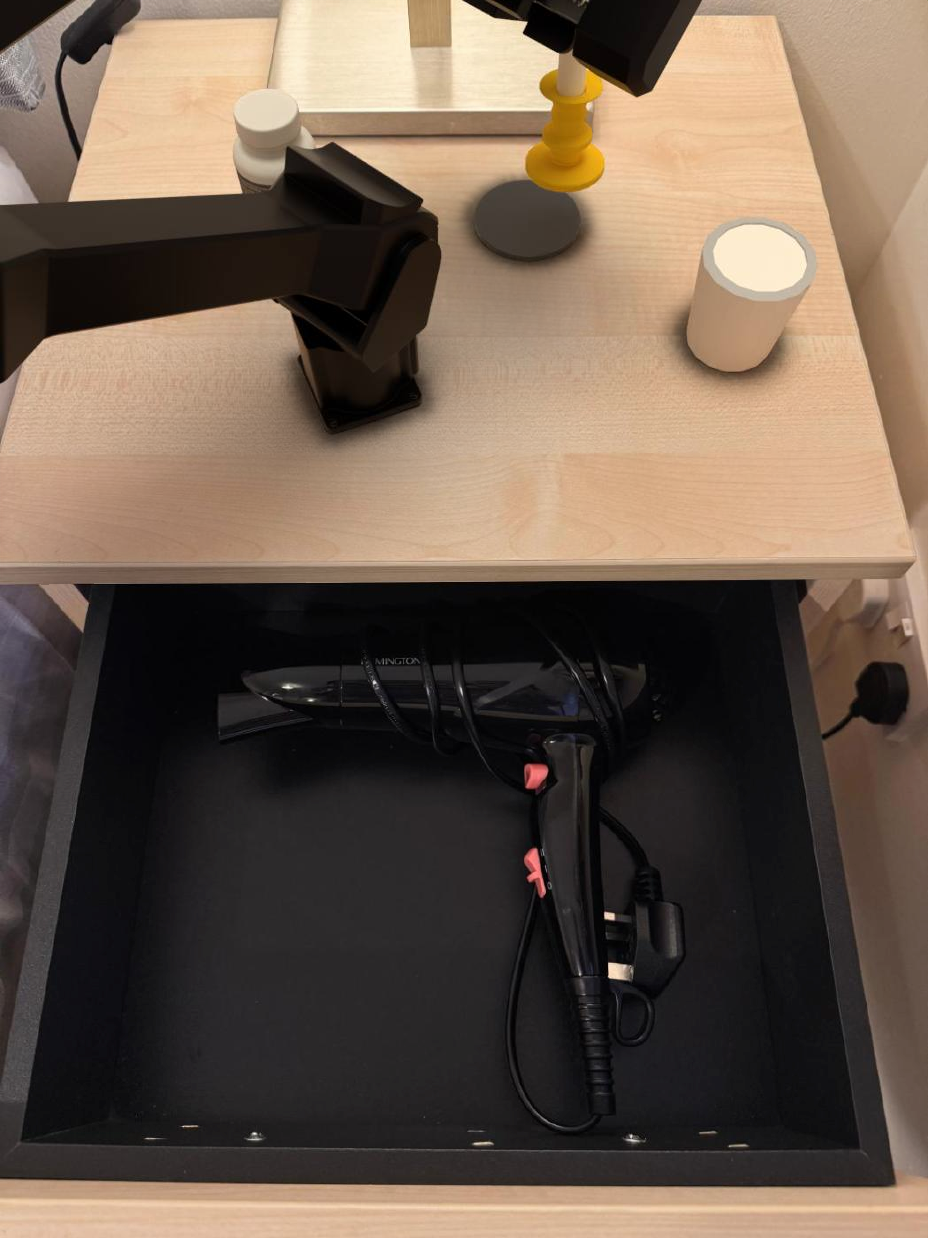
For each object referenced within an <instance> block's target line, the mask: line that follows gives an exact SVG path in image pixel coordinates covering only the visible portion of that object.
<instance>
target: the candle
mask: <svg viewBox="0 0 928 1238" xmlns="http://www.w3.org/2000/svg"><path fill="white" fill-rule="evenodd" d="M572 51H573V49H572V50H571V51H570V52H569V53H567V54H559V53H558V61H557V68H556V69H553V70H551V71H549V72H547V73H545V75H543V76H542V77H541V79H540V81H539V86H538V88H539V91H540V94H541V95H542V96H543V97H544V98H545V99H547V100H549V101H550V102H552V107H551V109H550V117H551V120H550V121H548V122H547V123H546V124H545V125H544V126H543V129H542V132H541V135H542V136H541V140H542V141H540V142H539V143H536V144H535V145H533V146H532V147H531V148H530V149H529V150H528V152H527V154H526V155H525V159H524V160H525V163H524V170H525V173H526V176H527V177H528V178H529V180H532V181H533V182H534V183H535V184H537V185H538V186H540V187H542V188H544V189H547V190H550V191H555V192H566V193H575V192H581V191H583V190H586V189H588V188H590V187H592V186H593V185H595V184H597V183H598V182H599V180H600V179H601V178H602V176H603V174H604V171H605V167H606V162H605V157H604V155H603V152H602V151H601V150H600V149H599V148H598V147H597V146H596V145H594V144H593V143H591V142H593V141H592V140H593V129H592V127H591V126H590V125H589V123H587V122H586V121H587V120H586V119H587V116H588V108H587V105H588V103H591V102H593V101H595V100H597V99H598V98H599V97H600V96H601V95H602V93H603V91H604V82H603V81H602V80H603V79H602V78H600V77H599V76H597V75H595V74H594V73H592V72H591V71H590V70H588V69H587V68H585V67H584V66H583V65H581V64H580V63H579V62H578V61H577V60H576V59H575V58H574V57H573V56H572Z"/></svg>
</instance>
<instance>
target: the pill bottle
mask: <svg viewBox="0 0 928 1238" xmlns="http://www.w3.org/2000/svg"><path fill="white" fill-rule="evenodd" d="M232 113H233V120H234V124H235V130H236V133H237V136H236V138H235V139H234V142H233V145H232V159H233V165H234V167H235V171H236V176H237V178H238V182H239V186H240V189H241V193H261V192H265V191H268V190H269V189H270V187H271V186H272V185H273V183H274V182H275V181H276V179H277V178H278V177H279V175H280V174H281V173H282V171H283V170H284V167H285V154H286V147H287V145H295V146H298V147H302V148H306V149H315V148H317V145H316V143H315V140H314V137H313V136H312V134H311V132H309V130H307V128H306V127H304V126H303V123H302V119H301V113H300V109H299V105H298V102H297V100H296V99H295V98H294V96H292V95H291V94H290V93H288V92H286V91H284V90H281V89H277V88H260V89H255V90H251V91H250V92H247V93H245V94H244V95H242V97H240V98H239V99H238V100H237V101H236V103H235V105H234V107H233V112H232Z"/></svg>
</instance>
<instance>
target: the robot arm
mask: <svg viewBox="0 0 928 1238" xmlns="http://www.w3.org/2000/svg"><path fill="white" fill-rule="evenodd" d="M76 1H77V0H0V55H2V54H3V53H4V52H5V51H7V50H8V49H10V48H11V47H13V46H14V45H15V44H17V43H18V42H20V41H21V40H22V39H24V38H26V37H27V36H28V35H30V34H31V33H32V32H34V31H35V30H36V29H38V28H39V27H41V26H42V25H44V24H45V23H46V22H48V21H49V20H51V19H52V18H53V17H55V16H56V15H58V14H59V13H61V12H62V11H63V10H65V9H66V8H68V7H69V6H70V5H72V4H73V3H74V2H76ZM461 1H462V2H464V3H466V4H468V5H470V6H471V7H473V8H475V9H476V10H479V11H480V12H482V13H484V14H486V15H488V16H489V17H491V18H493V19H498V20H505V21H513V22H525V23H526V24H525V26H524V28H523V31H522V34H523V36H524V37H527V38H529V39H530V40H532V41H535V42H536V43H538V44H540V45H541V46H543V47H545V48H547V49H549V50H551V51H552V52H554V53H556V54H558V55H559V54H567V53H569V52H570V51H571V50H572V49H573V51H572V56H573V57H574V58H575V59H576V60H577V61H578V62H579V63H580V64H581V65H583V66H584V67H585V68H586V70H588V71H591V72H592V73H594V74H595V75H597V76H598V77H600V78H601V80H604V81H606V82H607V83H609V84H611V85H613V86H614V87H617V88H618V89H620V90H622V91H624V92H626V93H627V94H629V95H631V96H633V97H635V98H639V97H642V96H645V95H647V94H649V93H652V92H653V90H654V89H655V87H656V85H657V84H658V81H659V80H660V78H661V76H662V74H663V73H664V70H665V69H666V67H667V65H668V63H669V62H670V60H671V57H672V56H673V55H674V53H675V51H676V49H677V47H678V45H679V44H680V42H681V40H682V38H683V36H684V34H685V33H686V31H687V29H688V27H689V25H690V24H691V22H692V20H693V18H694V17H695V14H696V13H697V11H698V9H699V7H700V5H701V4H702V1H703V0H461ZM423 204H424V198H423V197H421V196H420V195H418V194H417V193H415V192H414V191H412V190H410V189H409V188H407V187H405V186H404V185H402V184H401V183H399V182H397V180H395V179H393V178H391V177H390V176H388V175H387V174H385V173H384V172H382V171H380V170H379V169H378V168H376V167H374V166H372V165H371V164H369V163H367V162H366V161H365V160H363V159H361V158H360V157H358V156H357V155H355V154H353V153H352V152H351V151H349V150H347V149H345V148H344V147H343V146H341V145H339V144H338V143H336V142H335V141H331V142H329V143H326V144H325V145H323V146H321V147H316V148H315V149H306V148H302V147H298V146H295V145H287V147H286V154H285V167H284V170H283V171H282V173H281V174H280V175H279V177H278V178H277V179H276V181H275V182H274V183H273V185H272V186H271V187H270V189H269V190H268V191H265V192H261V193H242V192H241V193H223V194H221V193H220V194H202V195H199V194H198V195H182V196H181V195H180V196H158V197H138V198H137V197H136V198H118V199H117V198H115V199H98V200H76V201H75V200H73V201H55V202H54V201H53V202H34V203H33V202H32V203H14V204H13V203H12V204H11V203H10V204H0V385H1V384H3V383H5V382H6V381H8V379H9V378H10V377H11V376H12V375H13V374H14V373H15V372H16V371H17V369H18V368H19V367H20V366H21V365H22V364H23V363H24V362H25V361H26V360H27V359H28V358H29V356H30V355H32V353H33V352H34V351H35V350H36V349H37V348H38V347H39V345H40V344H42V342H43V341H44V340H46V339H47V340H48V339H49V338H52V337H57V336H62V335H67V334H73V333H74V334H75V333H79V332H80V333H81V332H85V331H91V330H97V329H103V328H109V327H110V328H111V327H114V326H120V325H126V324H132V323H139V322H143V321H152V320H156V319H163V318H167V317H173V316H181V315H185V314H186V315H187V314H192V313H198V312H203V311H209V310H216V309H221V308H226V307H227V308H228V307H232V306H240V305H245V304H251V303H255V302H263V301H268V300H271V301H272V302H274V303H275V304H277V305H278V304H279V305H280V306H281V307H283V308H284V309H286V310H287V311H289V312H290V317H291V321H292V325H293V328H294V332H295V336H296V341H297V345H298V348H299V352H300V354H299V355H298V356H297V363H298V366H299V369H300V372H301V374H302V376H303V379H304V380H305V383H306V386H307V389H308V391H309V393H310V395H311V398H312V399H313V402H314V404H315V406H316V409H317V411H318V413H319V417H320V419H321V421H322V423H323V425H324V428H325V429H326V431H327V432H328V433H330V434H335V433H339V432H342V431H345V430H348V429H350V428H353V427H357V426H360V425H363V424H366V423H369V422H371V421H374V420H377V419H380V418H384V417H387V416H389V415H392V414H396V413H398V412H401V411H404V410H408V409H410V408H413V407H416V406H418V405H420V404H421V403H422V402H423V394H422V393H423V392H422V391H421V389H420V387H419V385H418V383H417V381H416V379H415V377H414V376H416V375H418V374H419V372H420V361H419V346H418V335H419V334H420V333H421V332H422V331H424V330H425V329H426V327H427V325H428V322H429V318H430V313H431V310H432V309H431V308H432V304H433V300H434V296H435V291H436V286H437V282H438V277H439V273H440V268H441V263H442V254H443V252H442V247H441V245H440V244H439V217H438V216H437V215H436V214H434V212H432V211H430V210H428V209H427V208H425V207H424V206H422V205H423ZM413 397H414V398H413ZM332 424H334V425H332Z"/></svg>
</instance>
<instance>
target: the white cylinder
mask: <svg viewBox="0 0 928 1238" xmlns="http://www.w3.org/2000/svg"><path fill="white" fill-rule="evenodd" d="M818 267H819V266H818V259H817V257H816V251H815V249H814V247H813V246H812V245H811V243H810V242H809V241H808V239H807V238H806V237H805V235H803V233H802V232H799V231H798V230H796V229H795V228H793V227H792V226H790V225H788V224H787V223H785V222H782V221H778V220H775V219H772V218H767V217H763V216H741V217H737V218H734V219H731V220H727V221H725V222H722V223H721V224H719V225H718V226H717V227H716V228H714V229H713V230H712V231H711V232H709V233H708V234H707V237H706V239H705V241H704V244H703V246H702V249H701V253H700V258H699V264H698V268H697V274H696V279H695V284H694V289H693V296H692V301H691V305H690V311H689V314H688V321H687V324H686V325H687V326H686V331H685V332H686V341H687V346H688V347H689V349H690V350H691V352H692V354H693V355H694V357H695V358H696V359H698V360H699V361H701V362H702V363H703V364H705V365H706V366H707V367H709V368H713V369H716V370H718V371H721V372H744V371H748V370H750V369H753V368H757V367H758V366H759V365H760V364H761V363H762V362H763V361H764V360H765V359H766V358H767V357H768V356H769V355H770V352H771V351H772V349H773V348H774V346H775V345H776V343H777V341H778V339H779V338H780V336H781V335H782V333H783V331H784V330H785V328H786V326H787V325H788V323H789V321H790V320H791V318H792V317H793V315H794V313H795V312H796V310H797V309H798V307H799V306H800V304H801V302H802V300H803V299H804V297H805V295H806V293H807V292H808V291H809V289H810V288H811V286H812V284H813V283H814V280H815V276H816V273H817V271H818Z"/></svg>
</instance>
